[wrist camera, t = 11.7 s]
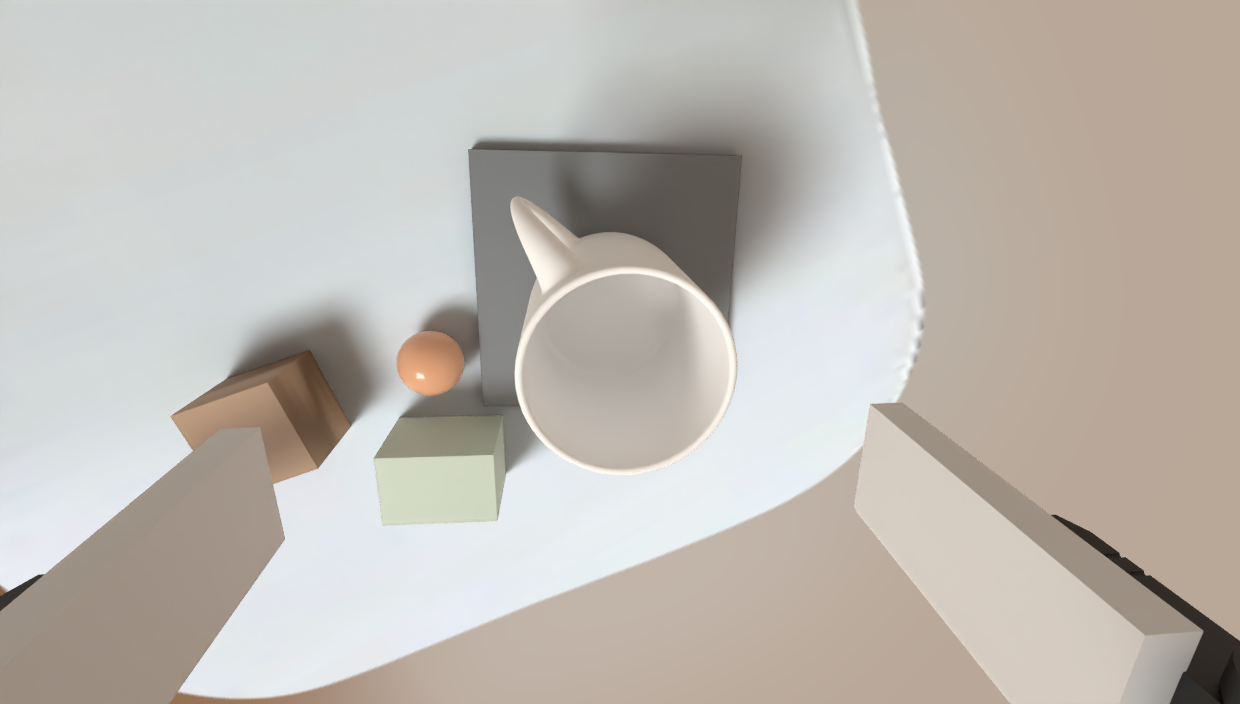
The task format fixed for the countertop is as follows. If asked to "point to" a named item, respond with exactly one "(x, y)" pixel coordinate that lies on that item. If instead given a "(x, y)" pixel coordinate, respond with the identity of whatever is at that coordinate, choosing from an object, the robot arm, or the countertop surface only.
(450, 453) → the sage block
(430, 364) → the terracotta ball
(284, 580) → the countertop surface
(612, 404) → the mug
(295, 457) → the walnut block
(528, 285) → the plate
